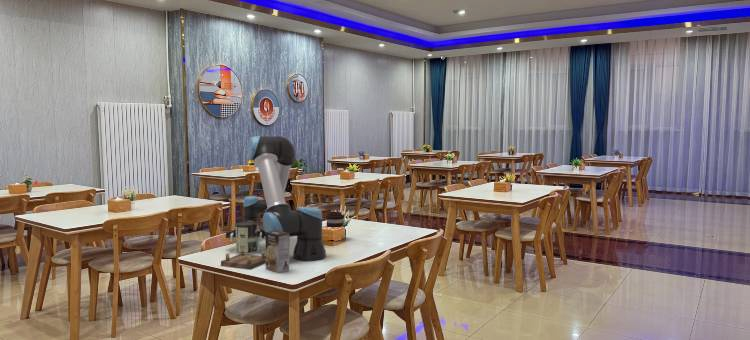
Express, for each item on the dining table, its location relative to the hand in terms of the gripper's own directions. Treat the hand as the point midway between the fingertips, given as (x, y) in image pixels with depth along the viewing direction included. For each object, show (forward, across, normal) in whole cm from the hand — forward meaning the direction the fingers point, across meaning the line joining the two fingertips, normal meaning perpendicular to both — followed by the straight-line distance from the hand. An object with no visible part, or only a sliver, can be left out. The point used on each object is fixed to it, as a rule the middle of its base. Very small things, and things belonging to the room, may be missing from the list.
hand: (245, 238), depth 251 cm
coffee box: (+30, -16, -8) cm, 35 cm away
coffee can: (-3, 0, -8) cm, 8 cm away
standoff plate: (+18, -1, -8) cm, 20 cm away
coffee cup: (-26, -44, -8) cm, 52 cm away
